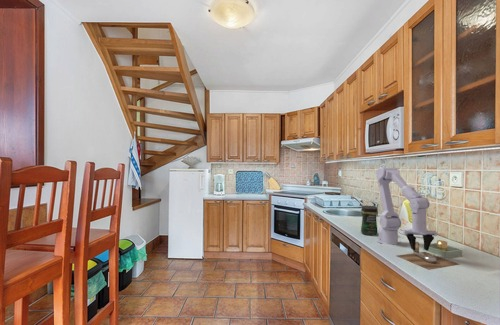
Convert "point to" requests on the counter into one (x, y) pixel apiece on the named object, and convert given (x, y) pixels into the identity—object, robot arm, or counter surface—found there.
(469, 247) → the counter surface
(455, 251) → the tray
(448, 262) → the crank base
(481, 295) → the counter surface
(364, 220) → the coffee jar
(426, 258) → the crank
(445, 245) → the pin
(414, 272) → the counter surface
